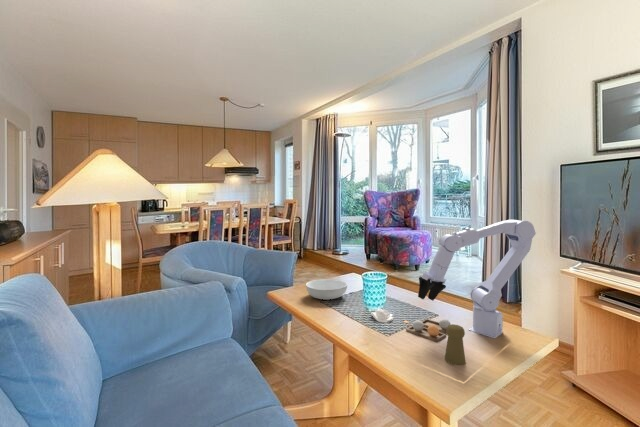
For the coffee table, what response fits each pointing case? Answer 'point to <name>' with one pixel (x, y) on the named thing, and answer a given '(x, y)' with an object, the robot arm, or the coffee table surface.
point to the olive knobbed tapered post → (455, 345)
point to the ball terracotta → (433, 330)
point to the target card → (406, 322)
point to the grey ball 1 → (418, 325)
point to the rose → (382, 315)
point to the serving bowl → (326, 288)
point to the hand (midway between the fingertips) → (425, 298)
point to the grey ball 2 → (444, 324)
